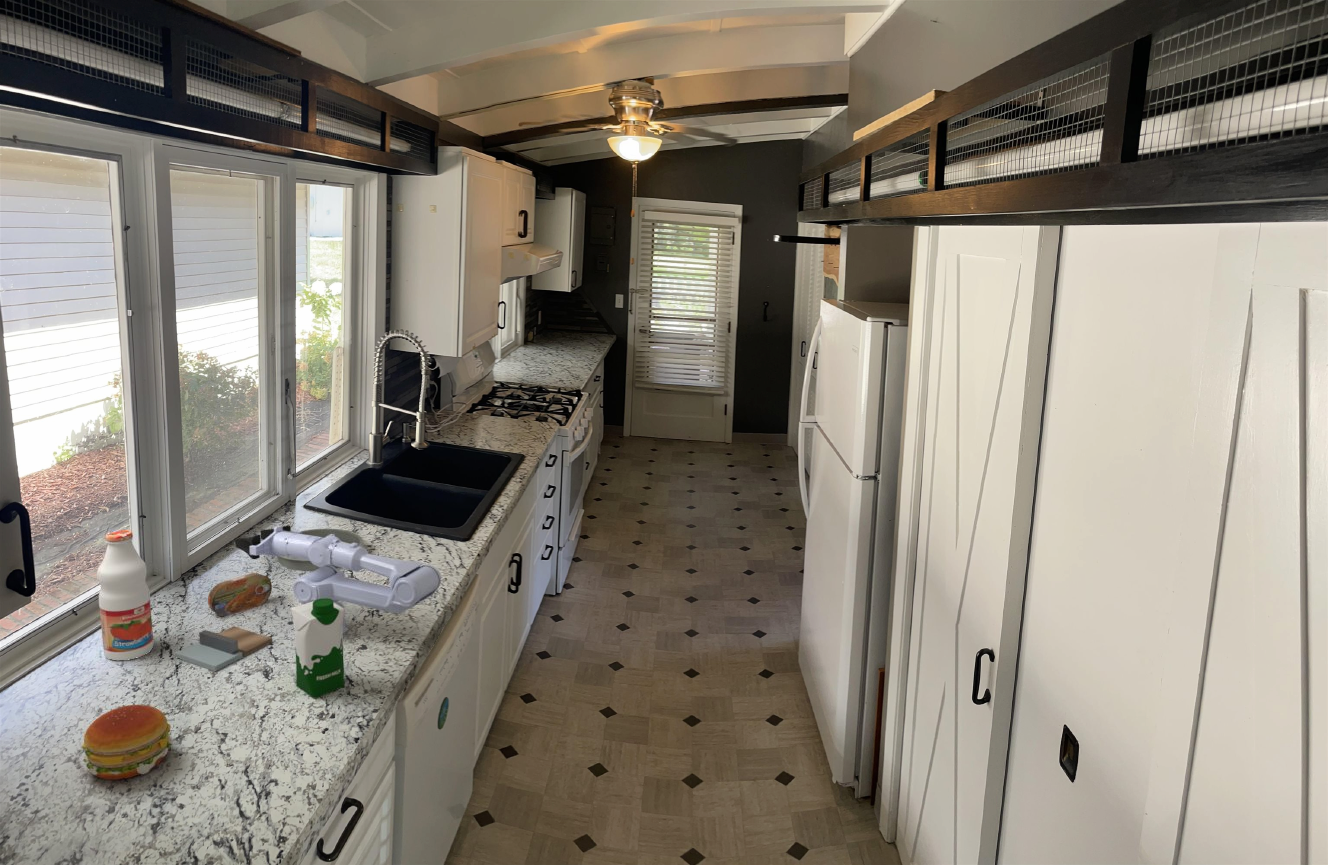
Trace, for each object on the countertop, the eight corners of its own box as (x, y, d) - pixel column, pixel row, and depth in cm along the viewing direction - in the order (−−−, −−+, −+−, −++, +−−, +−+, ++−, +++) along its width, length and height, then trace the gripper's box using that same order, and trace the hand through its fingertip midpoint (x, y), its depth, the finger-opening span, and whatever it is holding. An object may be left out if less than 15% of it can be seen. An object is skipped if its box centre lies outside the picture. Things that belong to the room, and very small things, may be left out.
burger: (72, 763, 151) (67, 712, 149) (155, 731, 161) (151, 683, 159) (102, 796, 143) (97, 744, 141) (187, 761, 153) (183, 711, 151)
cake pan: (252, 564, 239) (251, 549, 238) (311, 537, 262) (311, 523, 261) (326, 580, 232) (325, 564, 231) (380, 550, 255) (380, 536, 254)
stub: (242, 657, 189) (241, 640, 188) (215, 671, 183) (214, 654, 182) (203, 644, 193) (202, 628, 192) (175, 657, 187) (174, 641, 186)
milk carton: (311, 702, 174) (308, 612, 169) (289, 685, 180) (285, 598, 175) (350, 686, 181) (348, 599, 176) (328, 670, 186) (325, 586, 182)
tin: (213, 620, 205) (211, 588, 203) (206, 616, 207) (204, 584, 205) (273, 602, 217) (271, 571, 215) (266, 598, 219) (265, 567, 217)
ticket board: (272, 642, 197) (272, 637, 196) (243, 657, 189) (243, 652, 189) (234, 630, 201) (233, 625, 201) (204, 644, 194) (204, 639, 193)
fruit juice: (138, 637, 195) (128, 522, 188) (163, 649, 190) (153, 532, 184) (95, 654, 187) (83, 534, 180) (119, 666, 182) (107, 544, 176)
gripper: (316, 521, 206) (271, 515, 210) (270, 536, 192) (224, 529, 197) (317, 549, 207) (272, 542, 212) (271, 566, 194) (225, 558, 198)
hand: (249, 538), depth 204 cm, fingers open, 7 cm apart
